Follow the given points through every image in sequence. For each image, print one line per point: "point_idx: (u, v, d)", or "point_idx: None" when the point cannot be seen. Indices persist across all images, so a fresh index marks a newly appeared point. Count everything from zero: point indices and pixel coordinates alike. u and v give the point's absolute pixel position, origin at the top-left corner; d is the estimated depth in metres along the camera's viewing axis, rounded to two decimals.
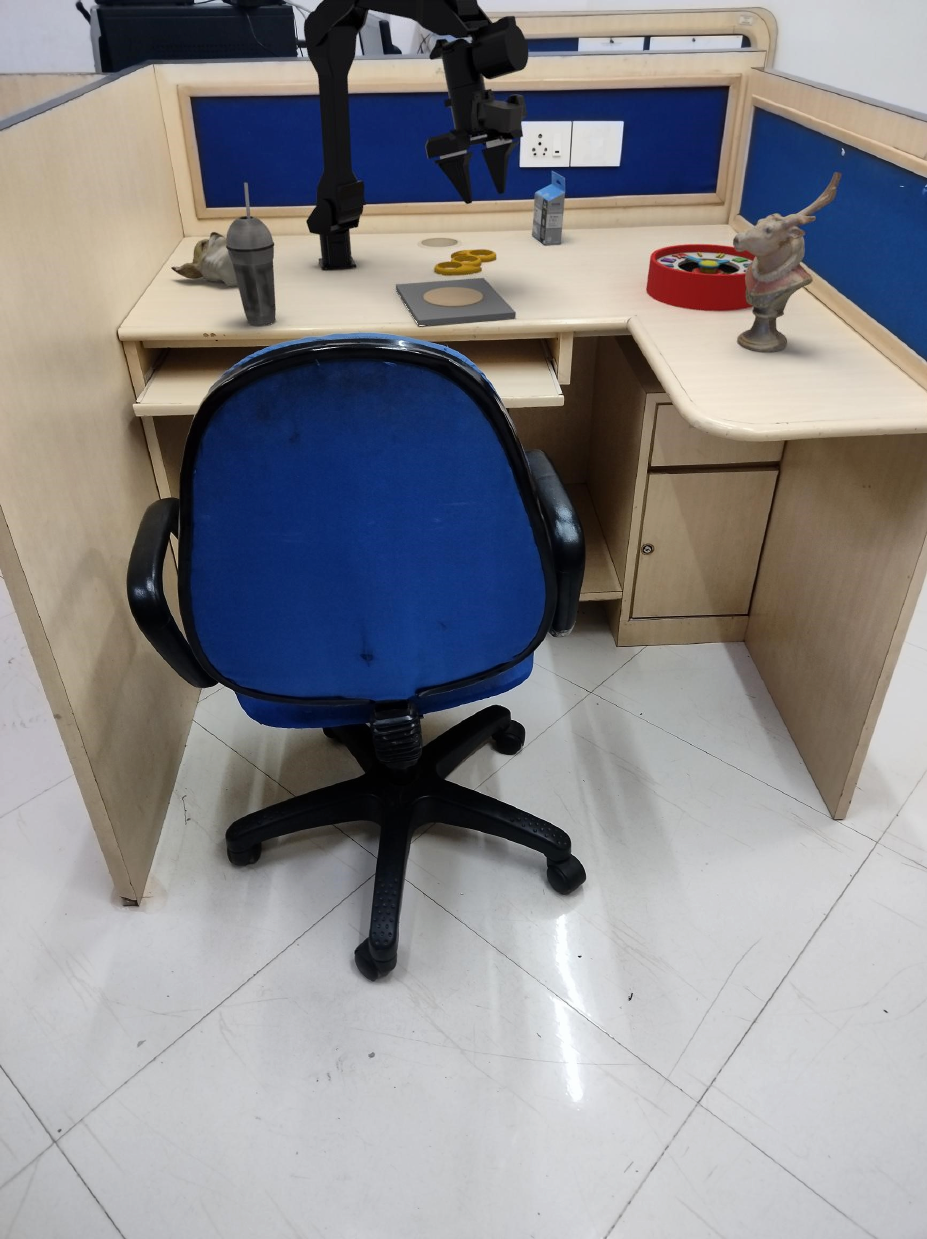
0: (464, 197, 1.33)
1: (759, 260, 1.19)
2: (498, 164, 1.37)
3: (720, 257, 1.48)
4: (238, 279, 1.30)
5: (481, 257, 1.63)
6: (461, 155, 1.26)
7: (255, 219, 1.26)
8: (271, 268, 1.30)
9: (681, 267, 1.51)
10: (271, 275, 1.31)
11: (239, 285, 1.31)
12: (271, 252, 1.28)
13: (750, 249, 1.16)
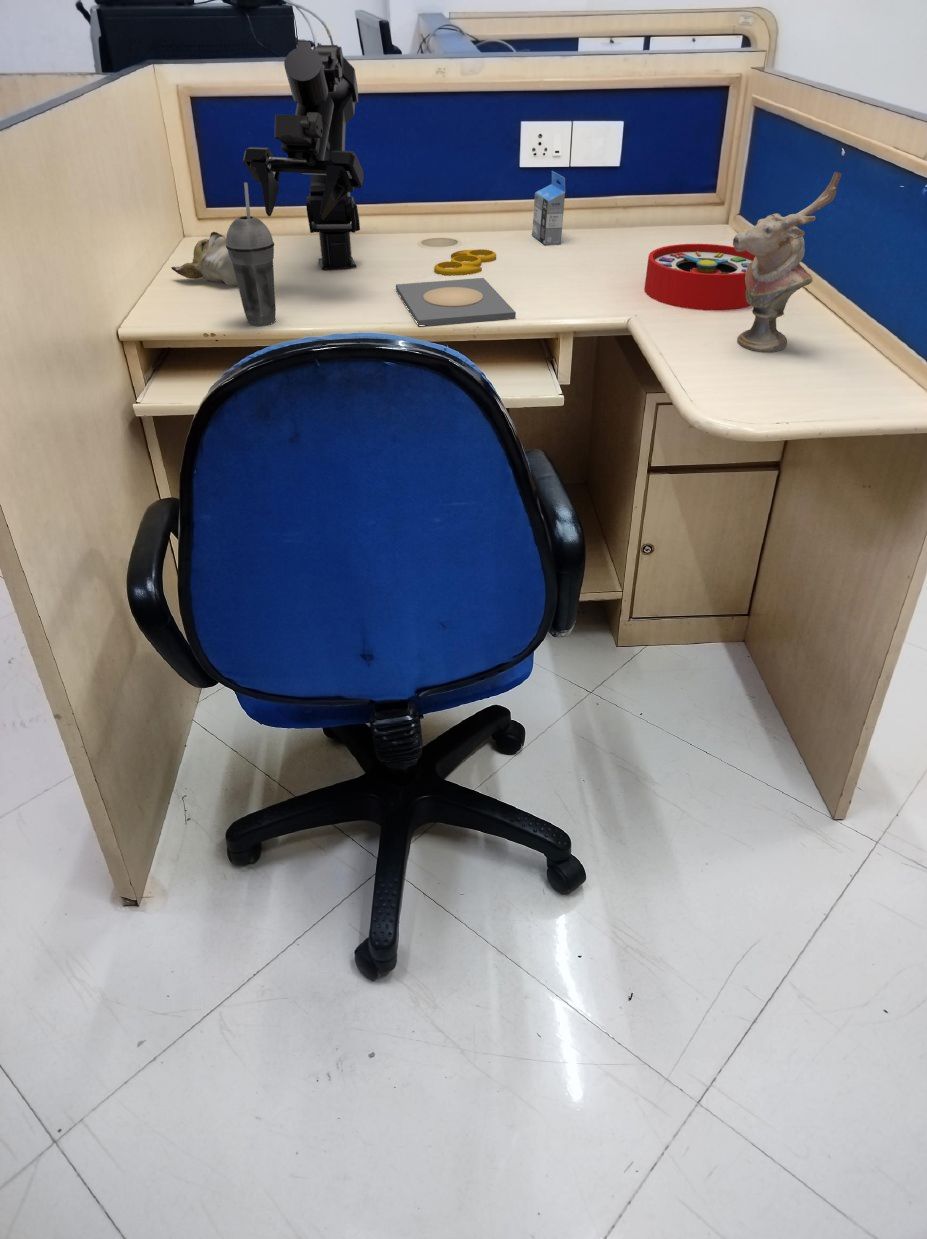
0: None
1: (759, 260, 1.19)
2: None
3: (718, 257, 1.49)
4: (238, 279, 1.30)
5: (481, 257, 1.63)
6: (250, 164, 1.35)
7: (255, 219, 1.26)
8: (271, 268, 1.30)
9: (679, 267, 1.52)
10: (271, 275, 1.31)
11: (239, 285, 1.31)
12: (271, 252, 1.28)
13: (750, 249, 1.16)
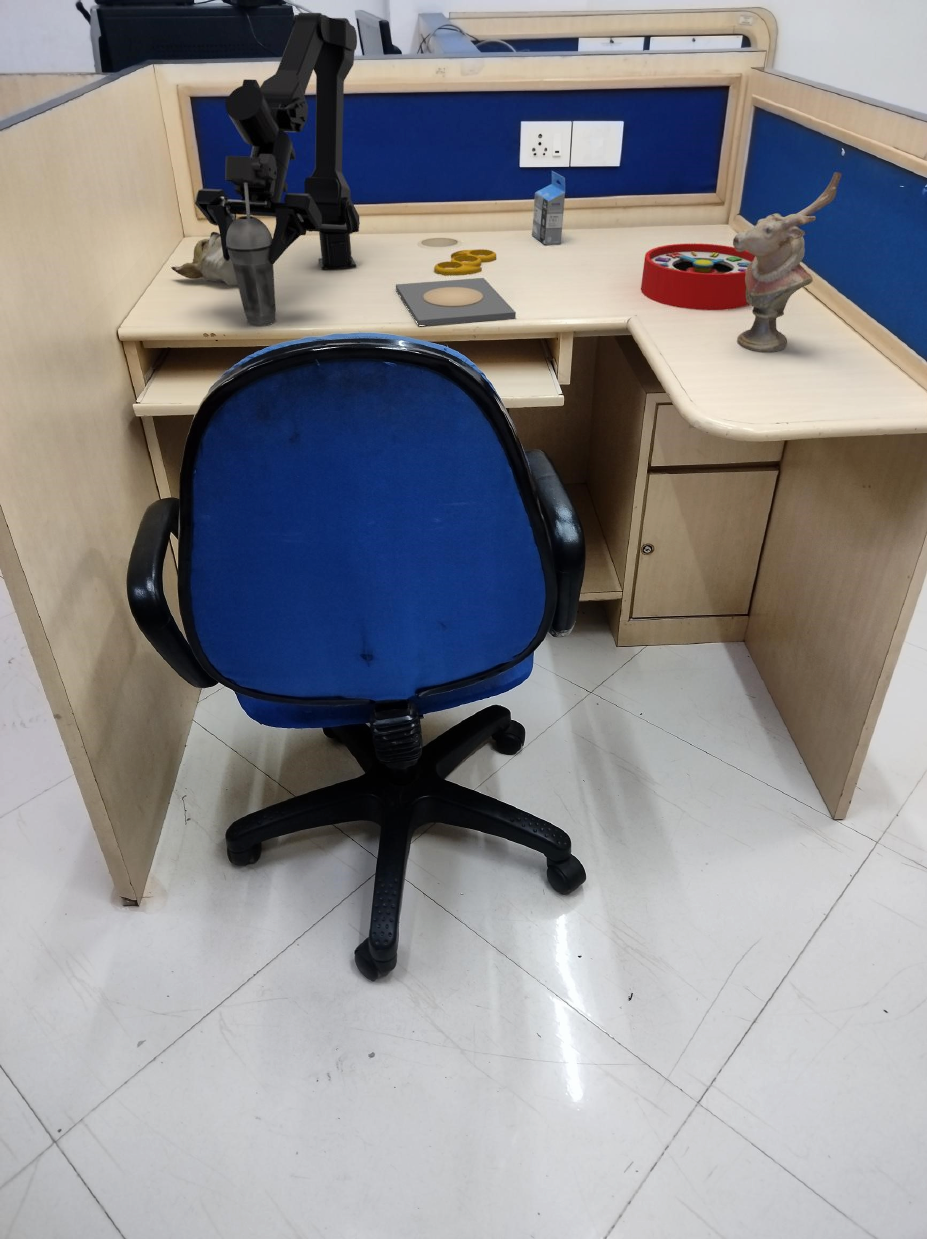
0: None
1: (759, 260, 1.19)
2: None
3: (714, 256, 1.49)
4: (238, 279, 1.30)
5: (481, 257, 1.63)
6: (207, 206, 1.28)
7: (255, 219, 1.26)
8: (271, 268, 1.30)
9: (675, 266, 1.52)
10: (271, 275, 1.31)
11: (239, 285, 1.31)
12: None
13: (750, 249, 1.16)
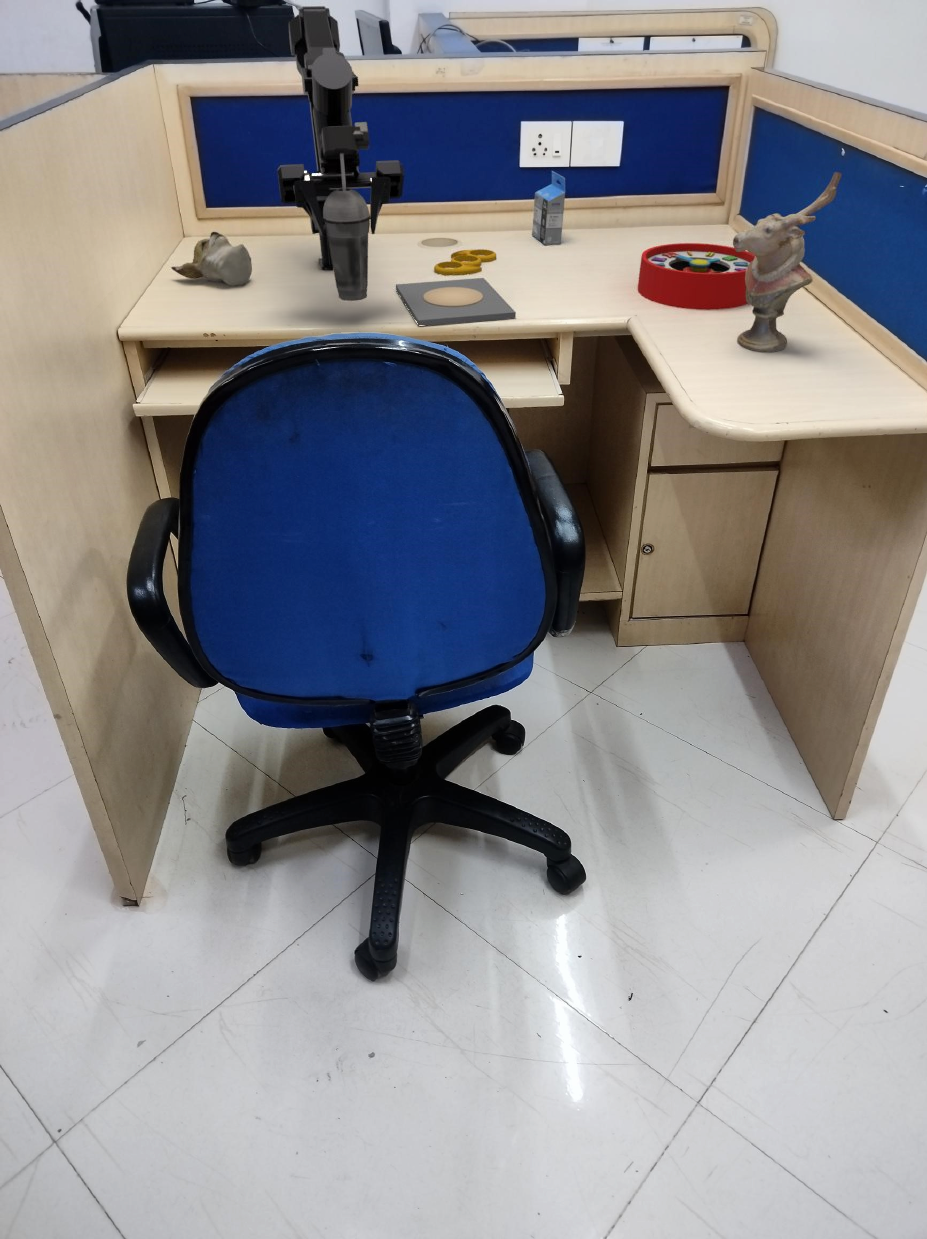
0: (319, 230, 1.27)
1: (759, 260, 1.19)
2: None
3: (710, 256, 1.49)
4: (339, 254, 1.28)
5: (481, 257, 1.63)
6: (295, 182, 1.24)
7: (354, 190, 1.25)
8: None
9: (671, 266, 1.52)
10: (367, 246, 1.30)
11: (339, 260, 1.28)
12: (369, 223, 1.28)
13: (750, 249, 1.16)
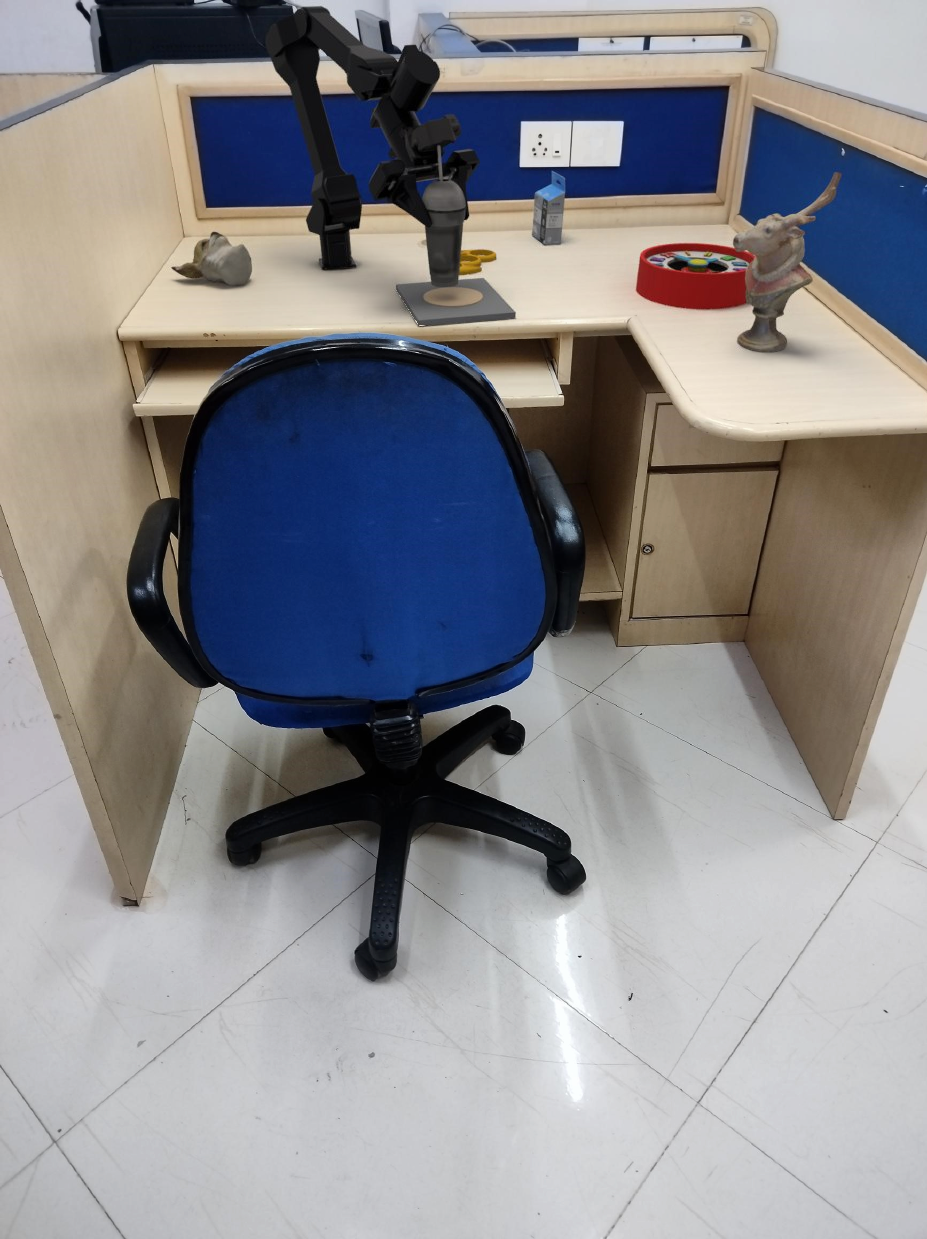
0: (424, 221, 1.31)
1: (759, 260, 1.19)
2: None
3: (708, 256, 1.49)
4: (445, 242, 1.33)
5: (481, 257, 1.63)
6: (400, 177, 1.27)
7: (450, 180, 1.31)
8: None
9: (669, 266, 1.52)
10: None
11: (444, 248, 1.34)
12: None
13: (750, 249, 1.16)
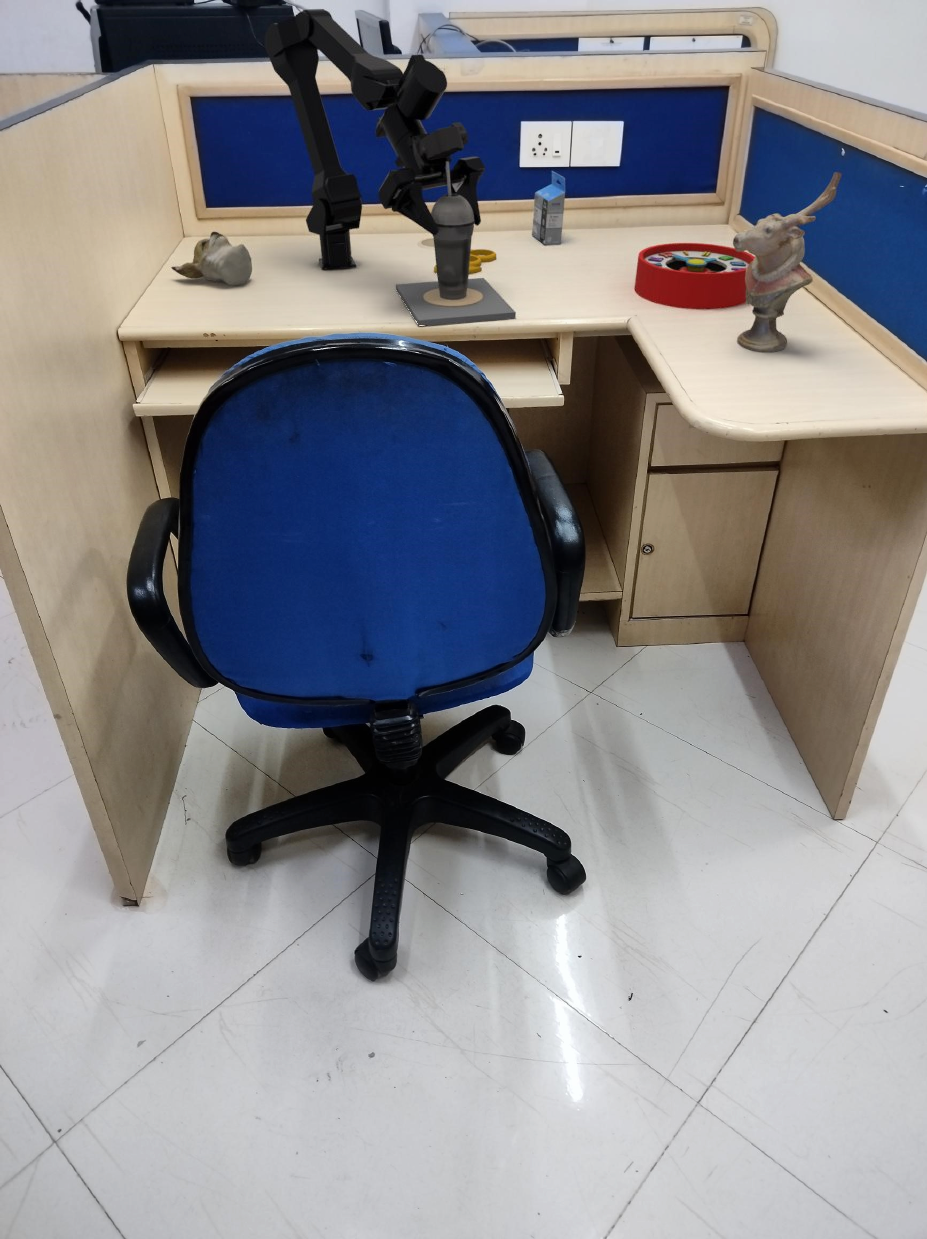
0: (430, 229, 1.32)
1: (759, 260, 1.19)
2: (467, 199, 1.37)
3: (706, 255, 1.49)
4: (455, 256, 1.35)
5: (481, 257, 1.63)
6: (406, 186, 1.28)
7: (458, 194, 1.33)
8: None
9: (667, 266, 1.52)
10: None
11: (453, 262, 1.36)
12: None
13: (750, 249, 1.16)
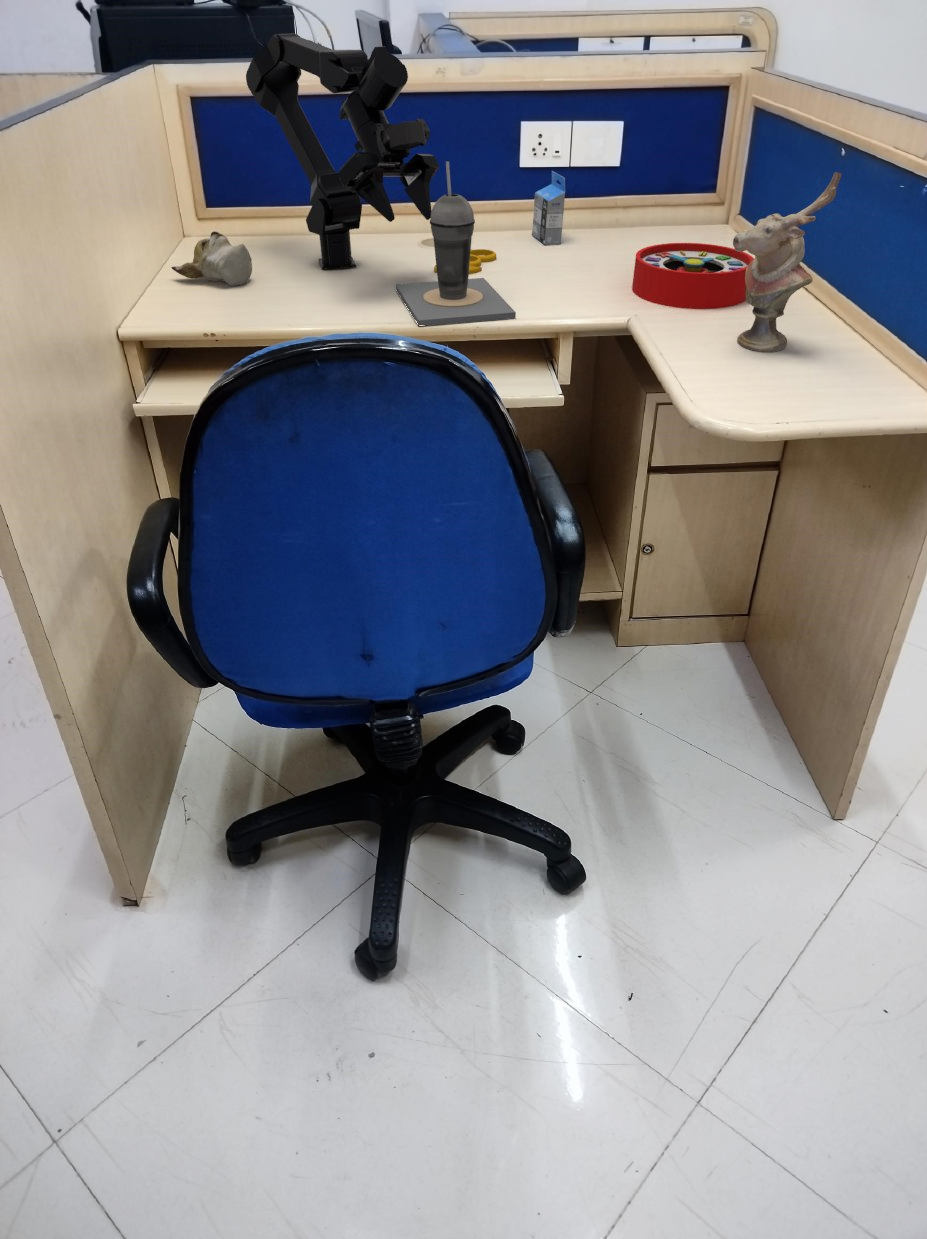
0: (386, 215, 1.37)
1: (759, 260, 1.19)
2: (420, 193, 1.43)
3: (703, 255, 1.49)
4: (455, 256, 1.35)
5: (481, 257, 1.63)
6: (370, 170, 1.32)
7: None
8: None
9: (664, 266, 1.52)
10: None
11: (453, 262, 1.36)
12: None
13: (750, 249, 1.16)
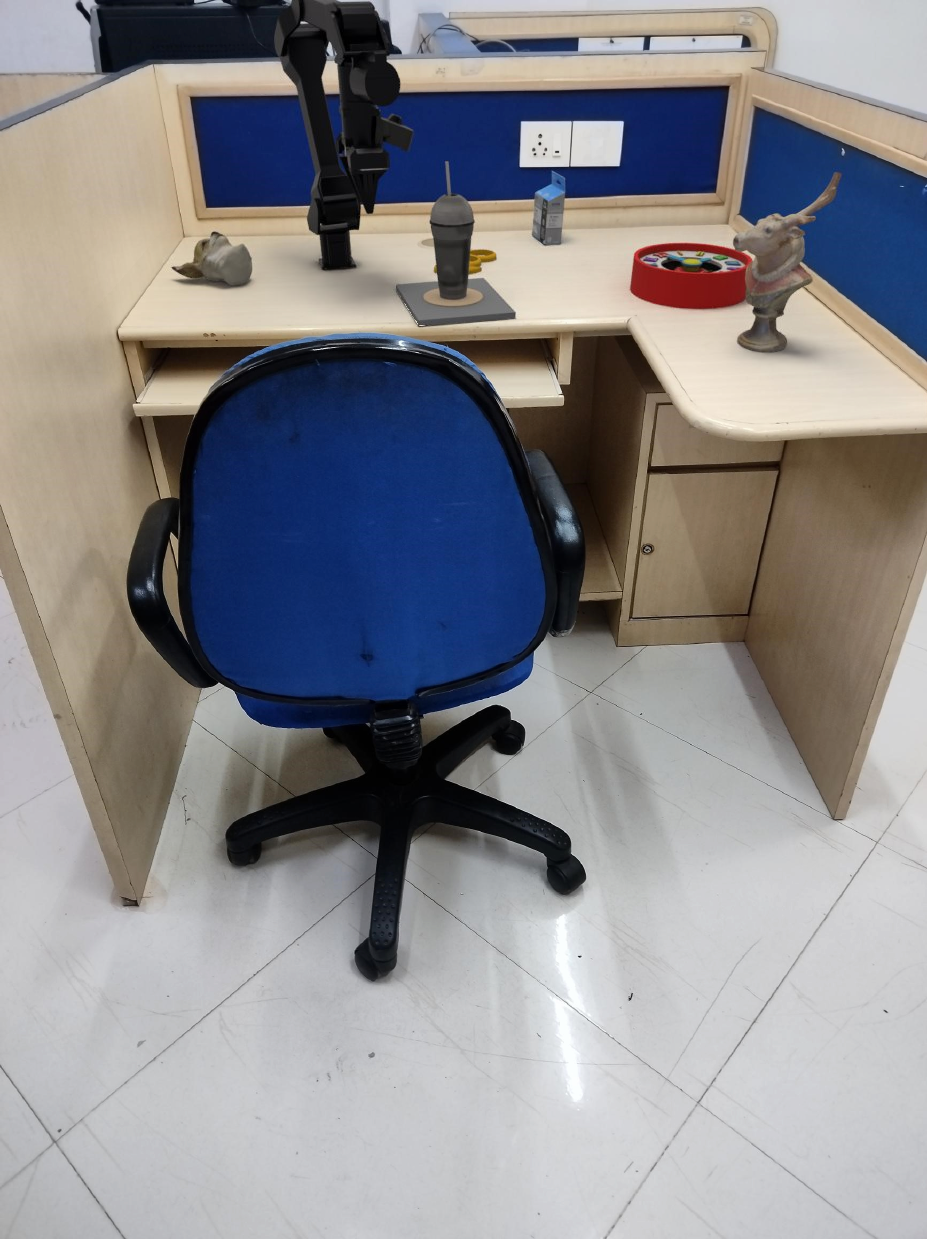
0: (368, 207, 1.38)
1: (759, 260, 1.19)
2: None
3: (700, 255, 1.49)
4: (454, 255, 1.35)
5: (481, 257, 1.63)
6: (386, 170, 1.33)
7: (458, 194, 1.33)
8: None
9: (662, 266, 1.52)
10: None
11: (453, 262, 1.36)
12: None
13: (750, 249, 1.16)
